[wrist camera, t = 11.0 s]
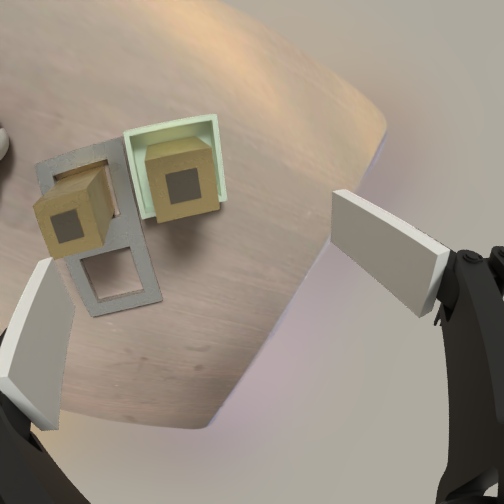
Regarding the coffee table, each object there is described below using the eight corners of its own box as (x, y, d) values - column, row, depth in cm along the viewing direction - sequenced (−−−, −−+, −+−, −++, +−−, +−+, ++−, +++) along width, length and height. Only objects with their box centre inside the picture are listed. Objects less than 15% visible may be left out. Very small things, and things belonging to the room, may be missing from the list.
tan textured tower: (74, 220, 28) (52, 261, 21) (61, 178, 26) (31, 206, 18) (114, 209, 29) (103, 247, 22) (103, 165, 27) (85, 189, 19)
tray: (142, 211, 30) (141, 219, 28) (125, 130, 26) (123, 132, 24) (222, 193, 32) (227, 200, 30) (212, 113, 28) (216, 114, 26)
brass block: (156, 191, 30) (157, 224, 22) (147, 145, 27) (144, 161, 19) (202, 181, 31) (220, 210, 23) (195, 135, 28) (212, 147, 21)
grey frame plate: (91, 313, 34) (90, 317, 33) (37, 163, 24) (34, 165, 23) (162, 296, 36) (162, 300, 35) (121, 136, 26) (120, 137, 25)
